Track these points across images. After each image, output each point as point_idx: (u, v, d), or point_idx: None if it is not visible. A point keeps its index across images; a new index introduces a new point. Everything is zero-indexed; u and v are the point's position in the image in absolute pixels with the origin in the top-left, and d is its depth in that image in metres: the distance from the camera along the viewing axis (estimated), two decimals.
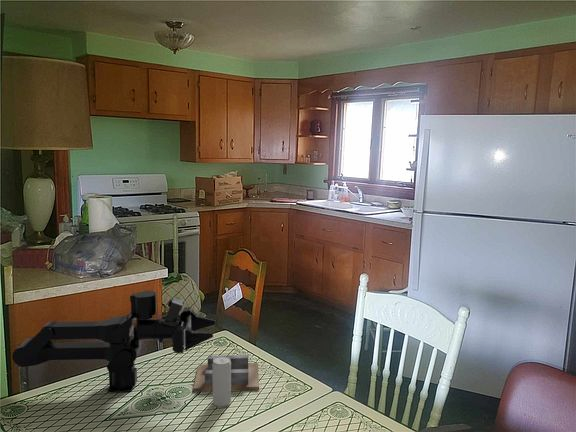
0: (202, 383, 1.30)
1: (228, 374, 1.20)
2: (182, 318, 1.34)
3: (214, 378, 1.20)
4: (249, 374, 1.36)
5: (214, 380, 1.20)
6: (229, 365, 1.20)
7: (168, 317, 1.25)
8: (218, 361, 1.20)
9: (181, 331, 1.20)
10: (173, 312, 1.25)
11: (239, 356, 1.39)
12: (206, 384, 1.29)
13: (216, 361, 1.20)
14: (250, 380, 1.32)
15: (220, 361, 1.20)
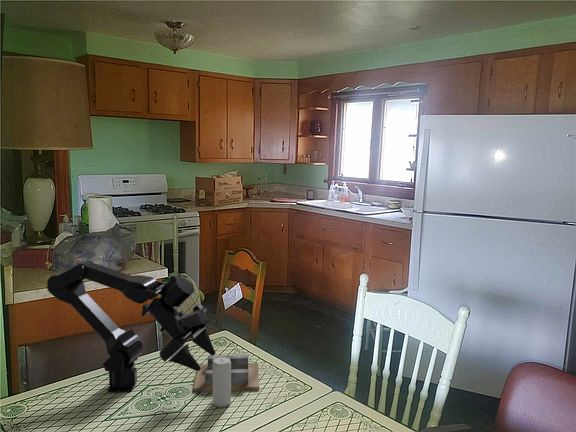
0: (202, 383, 1.30)
1: (228, 374, 1.20)
2: None
3: (214, 378, 1.20)
4: (249, 374, 1.36)
5: (214, 380, 1.20)
6: (229, 365, 1.20)
7: (183, 320, 1.19)
8: (218, 361, 1.20)
9: (178, 347, 1.13)
10: (189, 321, 1.19)
11: (239, 356, 1.39)
12: (206, 384, 1.29)
13: (216, 361, 1.20)
14: (250, 380, 1.32)
15: (220, 361, 1.20)
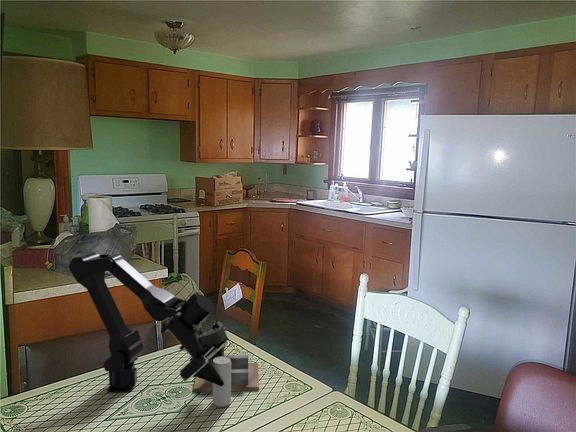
0: (202, 383, 1.30)
1: (228, 373, 1.20)
2: None
3: None
4: (249, 374, 1.36)
5: None
6: (229, 365, 1.20)
7: (203, 339, 1.18)
8: (218, 360, 1.20)
9: (199, 366, 1.12)
10: (210, 340, 1.18)
11: (239, 356, 1.39)
12: (206, 384, 1.29)
13: (216, 361, 1.20)
14: (250, 380, 1.32)
15: (221, 361, 1.20)
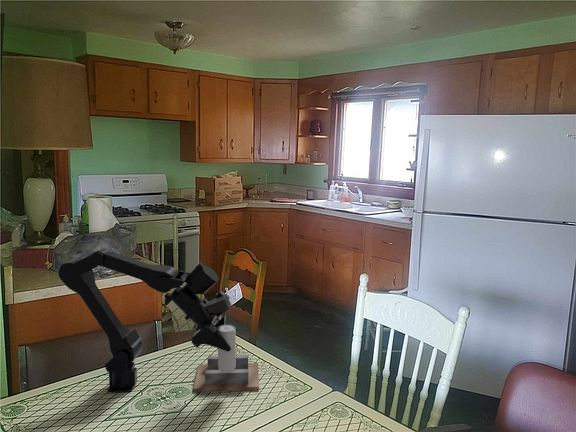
0: (202, 383, 1.30)
1: (233, 340, 1.25)
2: None
3: None
4: (249, 374, 1.36)
5: None
6: (234, 332, 1.25)
7: (210, 307, 1.22)
8: (223, 329, 1.25)
9: (212, 332, 1.16)
10: (217, 307, 1.22)
11: (239, 356, 1.39)
12: (206, 384, 1.29)
13: (221, 329, 1.24)
14: (250, 380, 1.32)
15: (226, 329, 1.25)
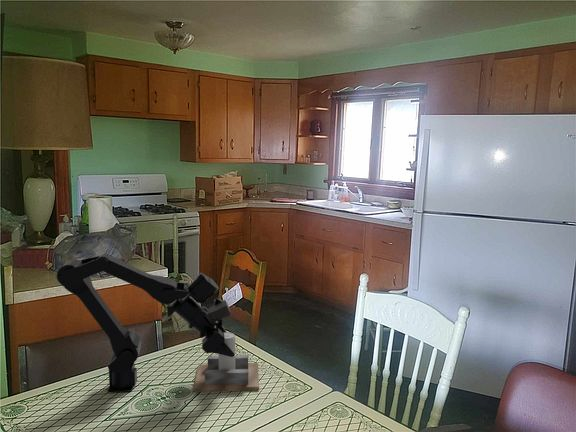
0: (202, 383, 1.30)
1: (234, 346, 1.34)
2: None
3: None
4: (249, 374, 1.36)
5: None
6: None
7: (213, 314, 1.29)
8: None
9: (222, 337, 1.24)
10: (220, 313, 1.29)
11: (239, 356, 1.39)
12: (206, 384, 1.29)
13: None
14: (250, 380, 1.32)
15: (227, 336, 1.33)
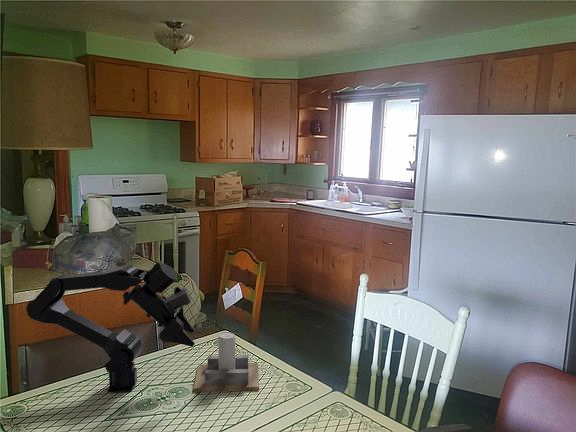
0: (202, 383, 1.30)
1: (234, 346, 1.34)
2: None
3: (223, 352, 1.32)
4: (249, 374, 1.36)
5: (223, 354, 1.32)
6: None
7: (172, 302, 1.25)
8: (224, 336, 1.33)
9: (180, 325, 1.20)
10: (179, 302, 1.25)
11: (239, 356, 1.39)
12: (206, 384, 1.29)
13: (223, 337, 1.33)
14: (250, 380, 1.32)
15: (227, 336, 1.33)
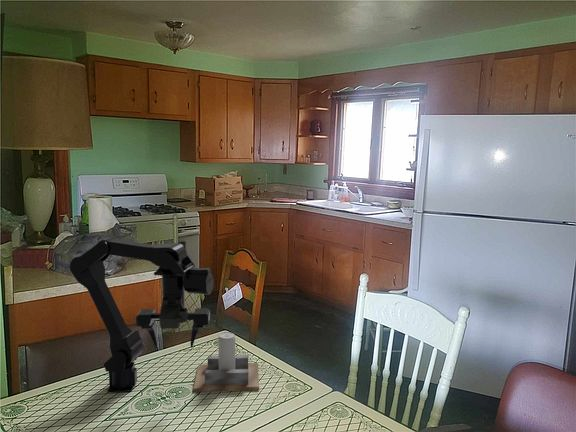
0: (202, 383, 1.30)
1: (234, 346, 1.34)
2: (194, 314, 1.23)
3: (223, 352, 1.32)
4: (249, 374, 1.36)
5: (223, 354, 1.32)
6: None
7: None
8: (224, 336, 1.33)
9: (137, 324, 1.20)
10: None
11: (239, 356, 1.39)
12: (206, 384, 1.29)
13: (223, 337, 1.33)
14: (250, 380, 1.32)
15: (226, 336, 1.33)
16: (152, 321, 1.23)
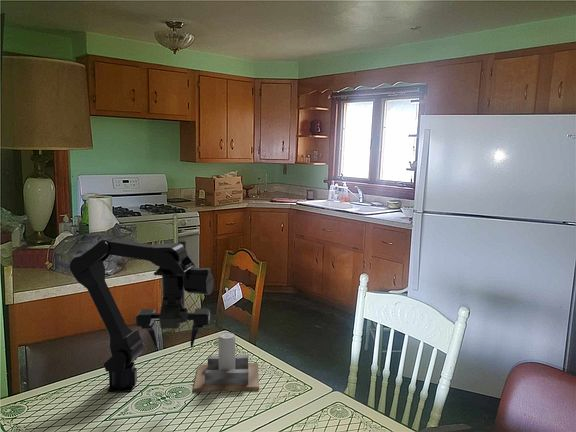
0: (202, 383, 1.30)
1: (234, 346, 1.34)
2: (194, 314, 1.23)
3: (223, 352, 1.32)
4: (249, 374, 1.36)
5: (223, 354, 1.32)
6: None
7: None
8: (224, 336, 1.33)
9: (137, 324, 1.20)
10: None
11: (239, 356, 1.39)
12: (206, 384, 1.29)
13: (223, 337, 1.33)
14: (250, 380, 1.32)
15: (226, 336, 1.33)
16: (152, 321, 1.23)
